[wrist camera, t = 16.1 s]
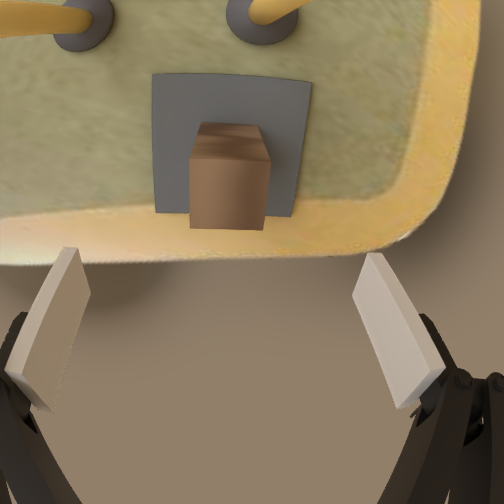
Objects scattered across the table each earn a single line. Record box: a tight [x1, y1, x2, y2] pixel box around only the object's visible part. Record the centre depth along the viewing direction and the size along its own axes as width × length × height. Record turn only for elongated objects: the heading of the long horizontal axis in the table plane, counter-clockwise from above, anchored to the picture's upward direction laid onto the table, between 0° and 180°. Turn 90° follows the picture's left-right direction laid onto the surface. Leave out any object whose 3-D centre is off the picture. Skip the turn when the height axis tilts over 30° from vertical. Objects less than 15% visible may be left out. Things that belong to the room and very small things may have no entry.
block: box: [189, 122, 271, 230], centre depth 24 cm, size 5×5×10 cm
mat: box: [152, 73, 312, 217], centre depth 29 cm, size 14×14×1 cm
